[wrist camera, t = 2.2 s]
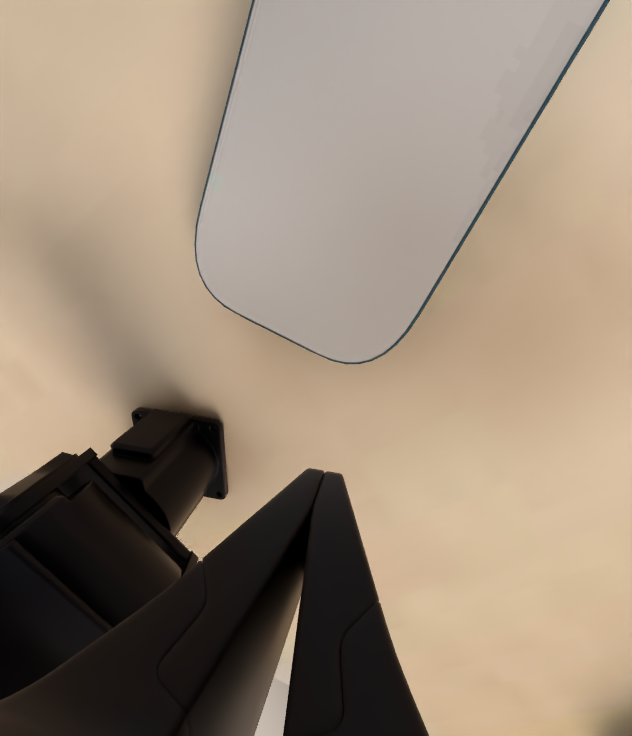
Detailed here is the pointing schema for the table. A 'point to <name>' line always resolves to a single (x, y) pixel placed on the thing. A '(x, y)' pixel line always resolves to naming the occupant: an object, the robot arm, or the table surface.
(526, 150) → the table surface
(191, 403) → the table surface
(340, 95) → the external hard drive
